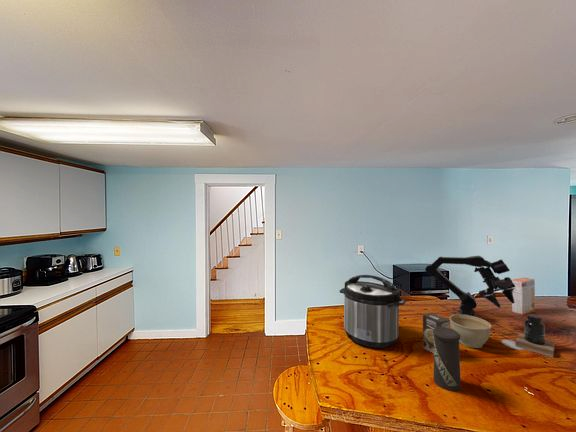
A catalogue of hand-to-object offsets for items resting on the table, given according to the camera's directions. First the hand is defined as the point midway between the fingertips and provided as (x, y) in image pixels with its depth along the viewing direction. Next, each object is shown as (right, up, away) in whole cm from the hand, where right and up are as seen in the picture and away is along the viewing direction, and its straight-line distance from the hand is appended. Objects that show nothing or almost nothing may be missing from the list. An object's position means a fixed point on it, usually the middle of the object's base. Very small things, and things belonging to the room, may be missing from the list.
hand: (506, 305), depth 129 cm
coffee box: (-50, -14, -19) cm, 55 cm away
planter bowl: (-29, -14, -12) cm, 35 cm away
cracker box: (+32, -13, +23) cm, 42 cm away
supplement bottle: (-2, -11, -16) cm, 20 cm away
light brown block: (-2, -14, -16) cm, 21 cm away
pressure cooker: (-74, -15, -3) cm, 76 cm away
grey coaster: (-9, -14, -14) cm, 22 cm away
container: (-59, -15, -40) cm, 72 cm away
